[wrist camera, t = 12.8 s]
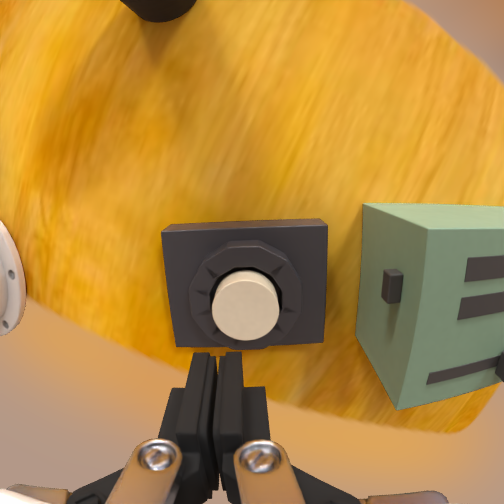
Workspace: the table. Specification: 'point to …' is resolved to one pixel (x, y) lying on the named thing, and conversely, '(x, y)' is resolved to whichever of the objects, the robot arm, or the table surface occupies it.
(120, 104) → the table surface
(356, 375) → the table surface
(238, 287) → the button
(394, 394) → the toaster
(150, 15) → the drinking cup
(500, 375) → the slider
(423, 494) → the robot arm
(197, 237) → the control block
